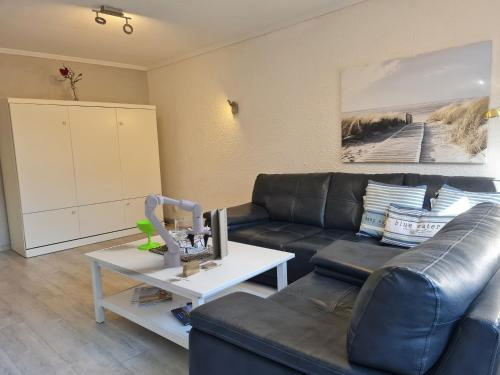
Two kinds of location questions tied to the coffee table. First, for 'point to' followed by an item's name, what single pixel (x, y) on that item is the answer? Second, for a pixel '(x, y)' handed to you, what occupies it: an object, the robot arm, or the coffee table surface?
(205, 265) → the offcut upper
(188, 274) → the tan wooden block
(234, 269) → the coffee table surface
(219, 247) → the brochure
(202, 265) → the rack
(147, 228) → the wineglass
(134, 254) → the coffee table surface
